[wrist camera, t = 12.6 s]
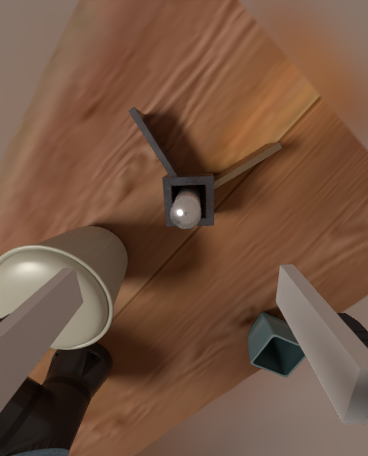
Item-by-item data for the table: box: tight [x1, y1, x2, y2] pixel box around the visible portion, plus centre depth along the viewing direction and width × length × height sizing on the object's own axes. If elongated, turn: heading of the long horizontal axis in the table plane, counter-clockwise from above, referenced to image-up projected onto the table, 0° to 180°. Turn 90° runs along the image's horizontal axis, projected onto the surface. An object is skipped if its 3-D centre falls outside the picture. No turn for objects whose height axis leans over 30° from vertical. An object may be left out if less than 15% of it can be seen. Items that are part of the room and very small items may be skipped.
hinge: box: [129, 107, 282, 226], centre depth 35 cm, size 22×18×7 cm
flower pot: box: [248, 312, 306, 377], centre depth 45 cm, size 9×9×9 cm
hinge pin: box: [170, 185, 201, 229], centre depth 34 cm, size 4×4×14 cm
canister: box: [0, 226, 128, 350], centre depth 36 cm, size 18×18×21 cm
